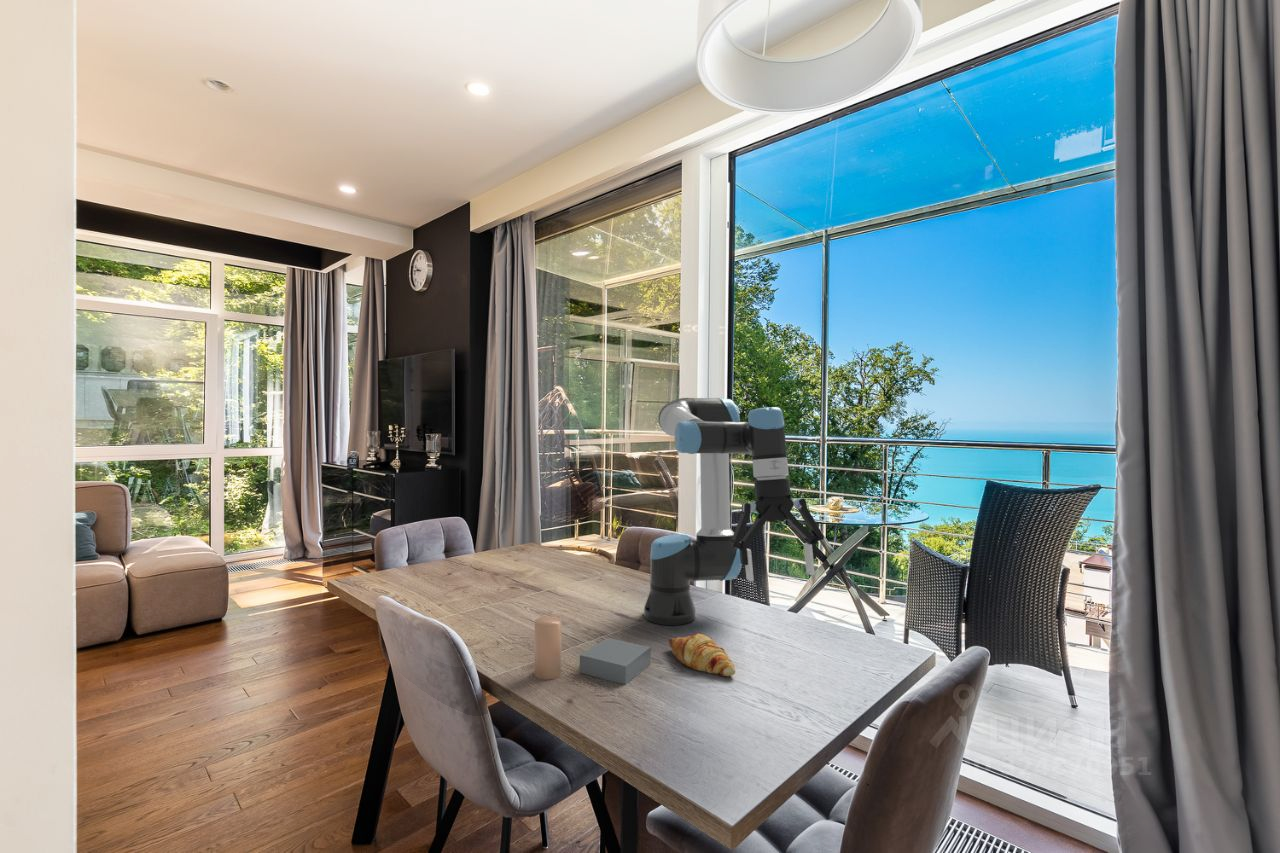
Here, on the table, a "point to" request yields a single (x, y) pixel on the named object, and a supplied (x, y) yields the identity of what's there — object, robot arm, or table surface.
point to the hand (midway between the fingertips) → (780, 577)
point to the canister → (547, 648)
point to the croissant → (702, 654)
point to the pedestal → (615, 660)
